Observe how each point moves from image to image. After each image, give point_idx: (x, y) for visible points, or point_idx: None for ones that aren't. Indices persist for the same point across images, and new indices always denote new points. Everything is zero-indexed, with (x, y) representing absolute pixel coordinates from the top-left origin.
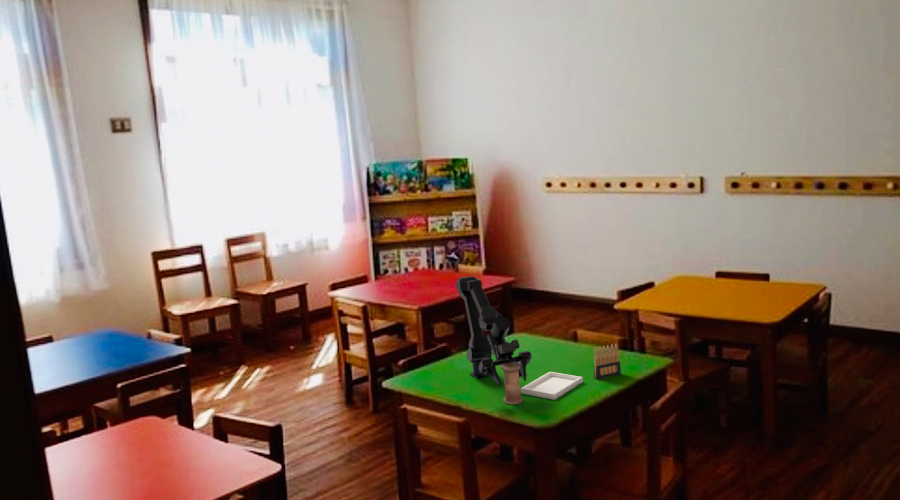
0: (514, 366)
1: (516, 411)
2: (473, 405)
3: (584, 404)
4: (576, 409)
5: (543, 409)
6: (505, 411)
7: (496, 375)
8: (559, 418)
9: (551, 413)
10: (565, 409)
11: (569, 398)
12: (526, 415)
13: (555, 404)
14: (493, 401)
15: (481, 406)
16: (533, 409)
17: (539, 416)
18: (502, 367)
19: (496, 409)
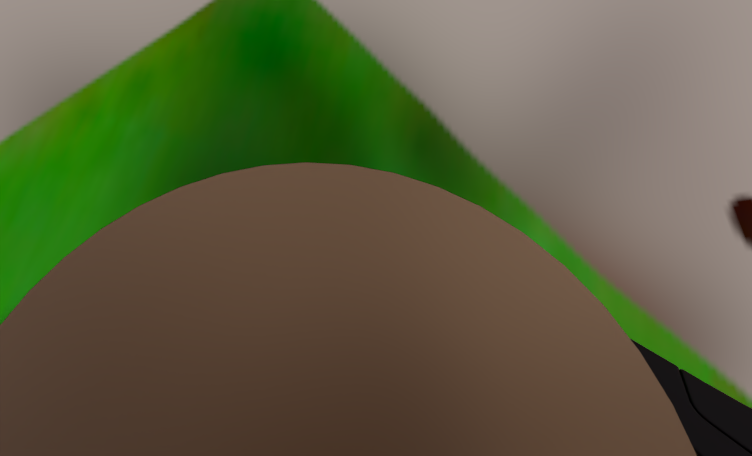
0: (181, 350)
1: (391, 150)
2: (680, 342)
3: (10, 146)
4: (78, 92)
5: (235, 137)
6: (457, 167)
7: (669, 378)
8: (201, 8)
9: (215, 74)
10: (128, 106)
11: (36, 260)
12: (348, 80)
13: (147, 190)
14: None
15: (616, 302)
16: (288, 152)
17: (286, 52)
18: (667, 407)
19: (512, 216)
